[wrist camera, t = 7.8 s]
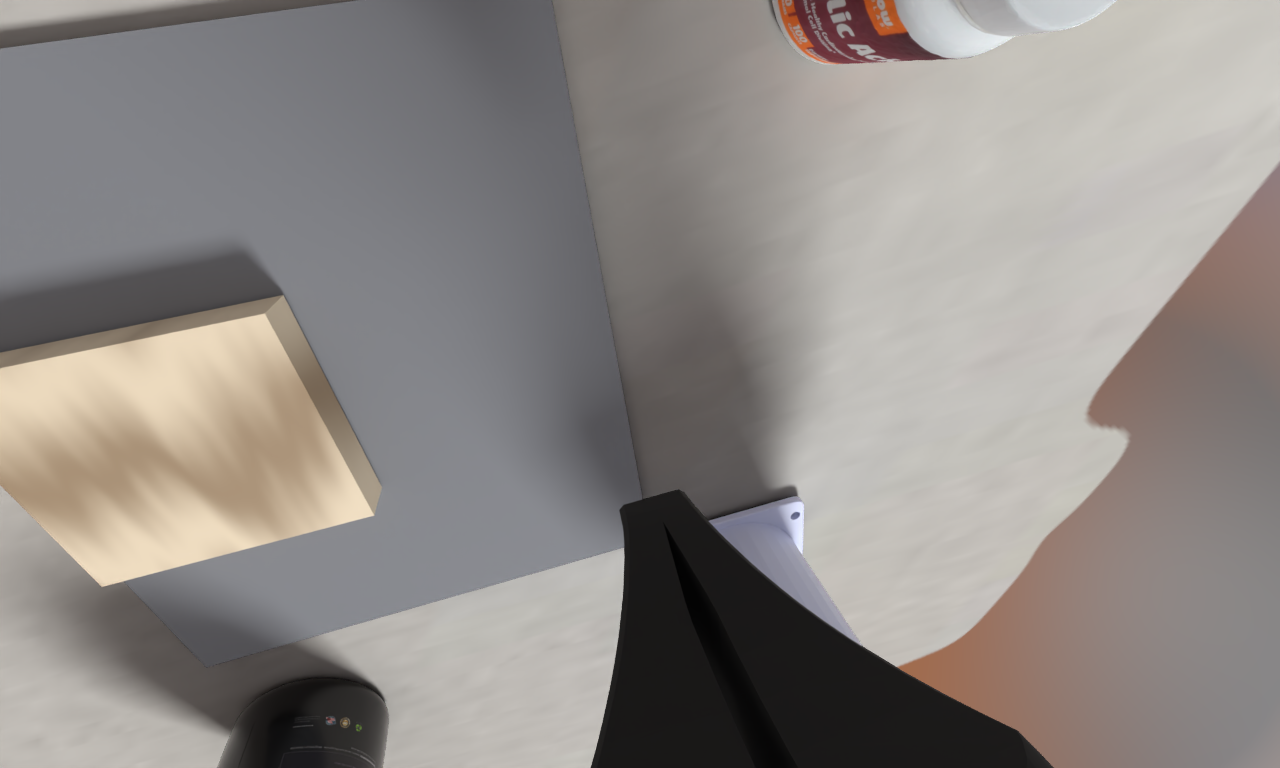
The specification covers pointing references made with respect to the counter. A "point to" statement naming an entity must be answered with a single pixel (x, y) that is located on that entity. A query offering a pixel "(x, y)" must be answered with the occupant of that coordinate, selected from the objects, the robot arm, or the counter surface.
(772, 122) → the counter surface
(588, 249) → the mat
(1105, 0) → the pill bottle
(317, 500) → the tile
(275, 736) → the supplement bottle
